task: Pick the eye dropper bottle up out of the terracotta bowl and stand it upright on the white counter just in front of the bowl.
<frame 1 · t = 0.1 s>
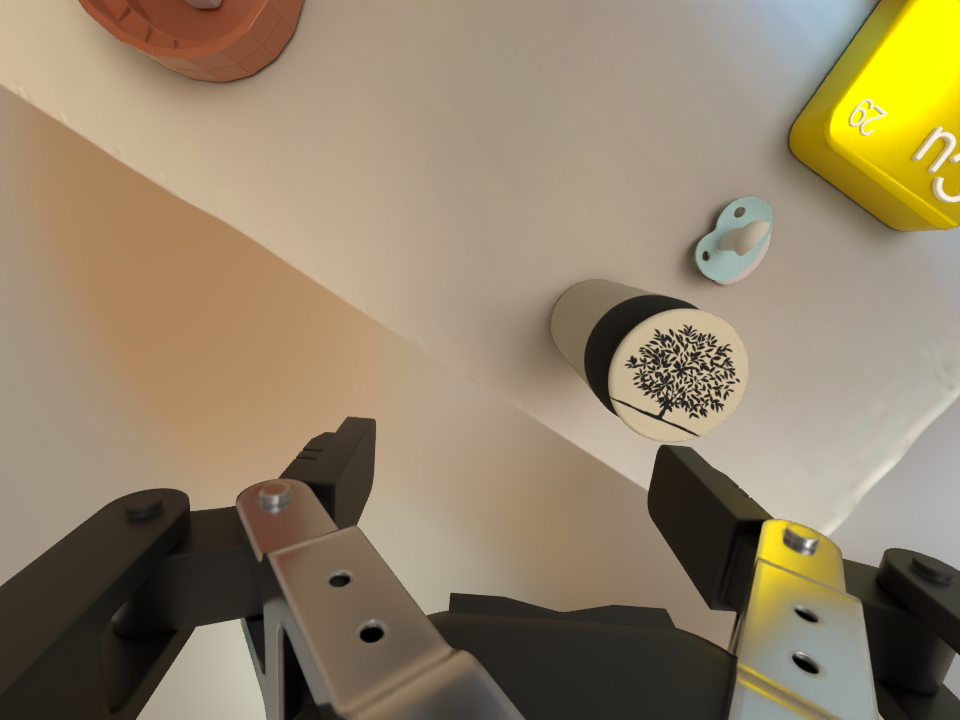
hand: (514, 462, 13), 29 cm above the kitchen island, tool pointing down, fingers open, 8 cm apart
element tile: (901, 113, 37), on the kitchen island
pacifier: (728, 246, 40), on the kitchen island
travel mug: (592, 322, 41), on the kitchen island
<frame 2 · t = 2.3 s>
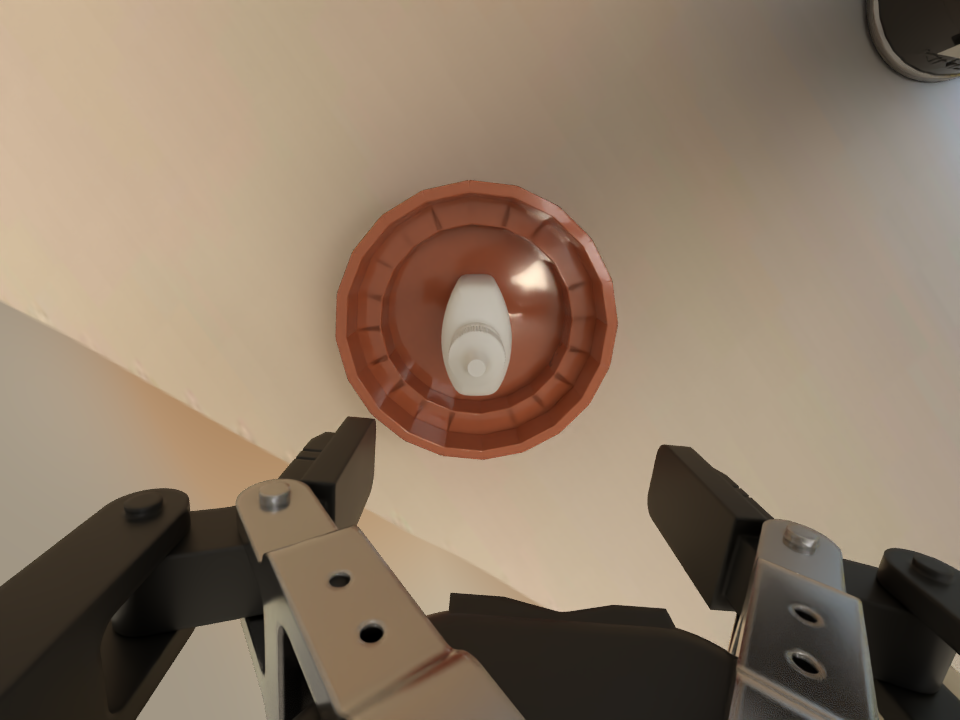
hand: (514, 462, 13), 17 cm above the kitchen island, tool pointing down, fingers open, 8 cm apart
bowl: (476, 316, 29), on the kitchen island
travel mug: (858, 650, 36), on the kitchen island
eye dropper bottle: (476, 317, 29), resting on bowl
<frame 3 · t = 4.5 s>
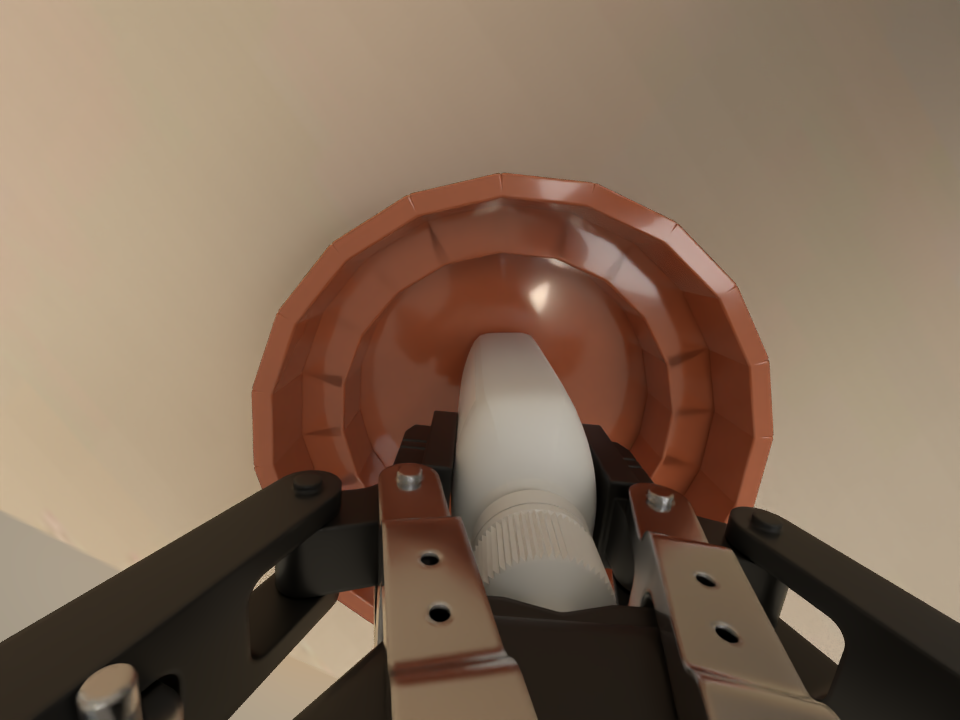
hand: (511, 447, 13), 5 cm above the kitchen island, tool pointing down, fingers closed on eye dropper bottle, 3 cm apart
bowl: (502, 396, 18), on the kitchen island
eye dropper bottle: (503, 398, 18), resting on bowl, touching gripper
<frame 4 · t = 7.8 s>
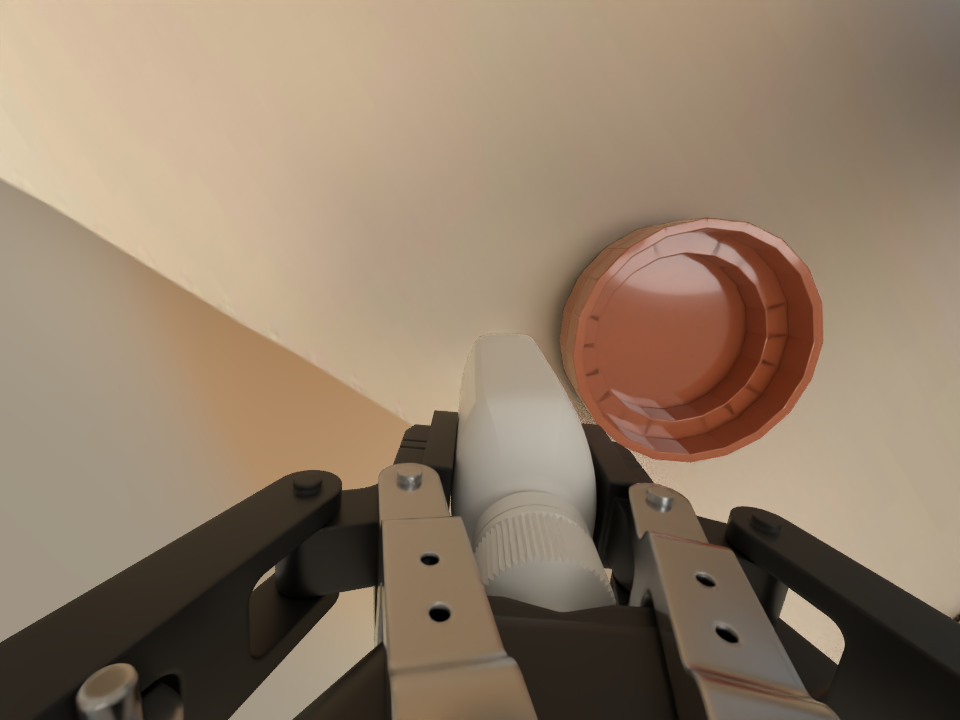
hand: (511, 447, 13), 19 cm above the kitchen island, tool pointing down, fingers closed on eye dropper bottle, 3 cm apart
bowl: (664, 333, 32), on the kitchen island
eye dropper bottle: (503, 399, 18), point 15 cm above the kitchen island, touching gripper
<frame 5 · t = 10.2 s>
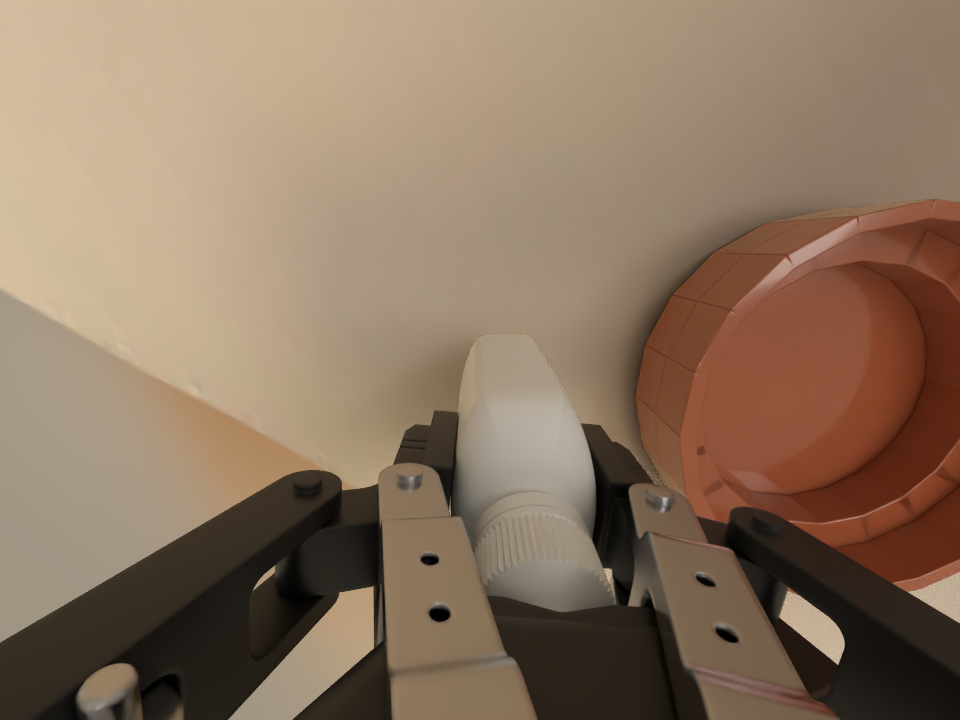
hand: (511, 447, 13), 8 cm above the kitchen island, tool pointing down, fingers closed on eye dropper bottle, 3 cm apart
bowl: (795, 382, 21), on the kitchen island
eye dropper bottle: (503, 399, 18), point 3 cm above the kitchen island, touching gripper
when the fingers open (4 cm above the kitchen island, at t = 11.4 s): eye dropper bottle stays where it is, on the kitchen island.
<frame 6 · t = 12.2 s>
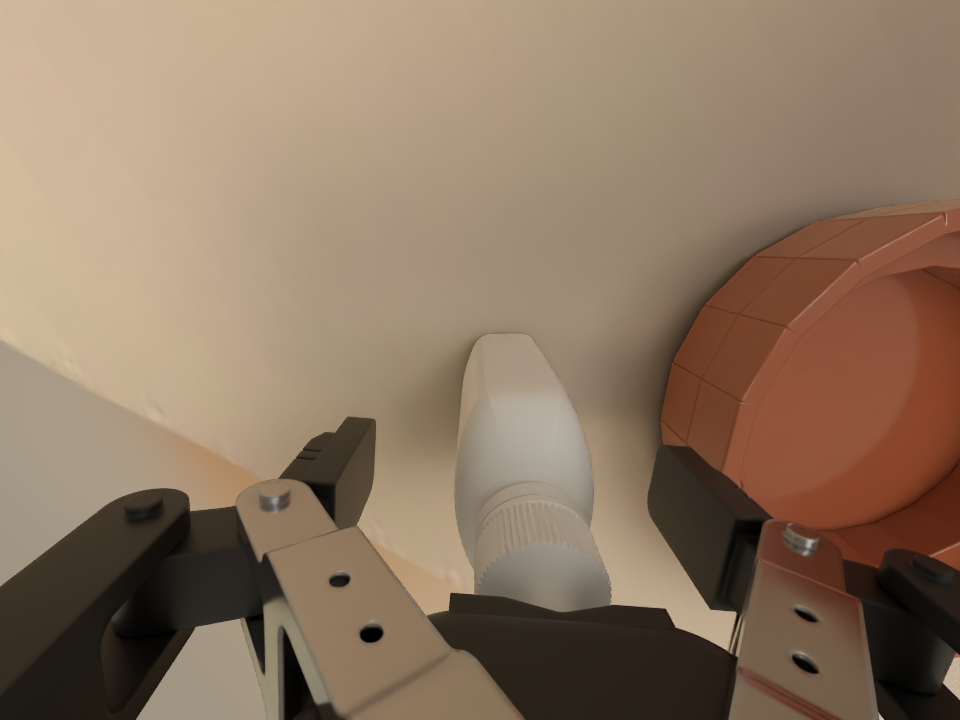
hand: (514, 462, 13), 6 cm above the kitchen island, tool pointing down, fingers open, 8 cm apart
bowl: (842, 404, 18), on the kitchen island
eye dropper bottle: (504, 397, 18), on the kitchen island
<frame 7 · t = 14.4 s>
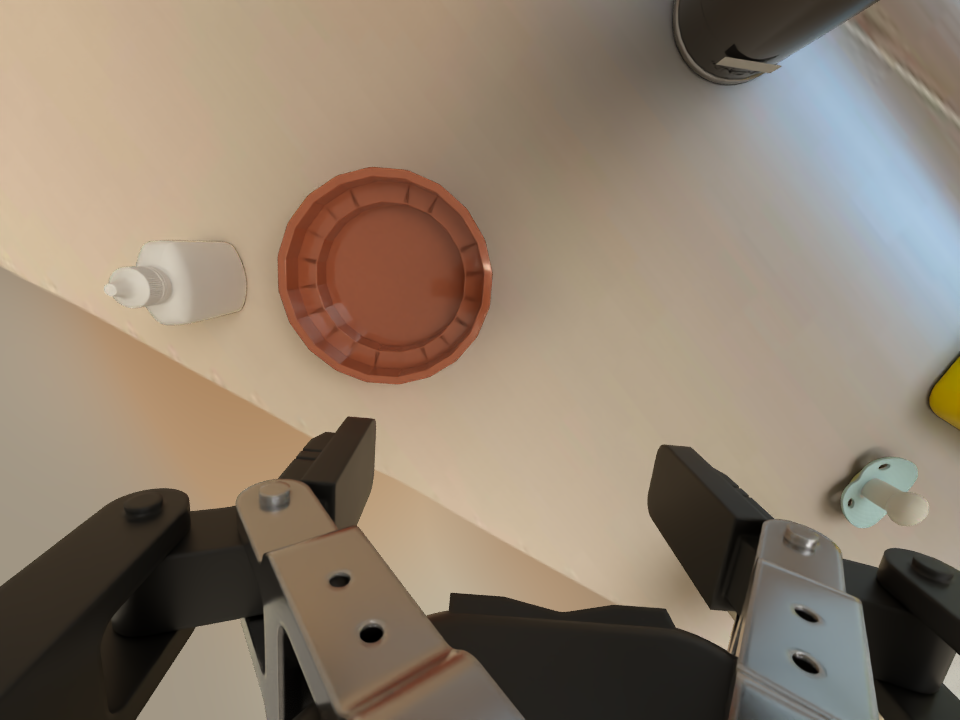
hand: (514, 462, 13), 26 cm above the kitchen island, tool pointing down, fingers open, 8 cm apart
bowl: (396, 277, 37), on the kitchen island
pacifier: (866, 485, 42), on the kitchen island
eye dropper bottle: (227, 277, 37), on the kitchen island
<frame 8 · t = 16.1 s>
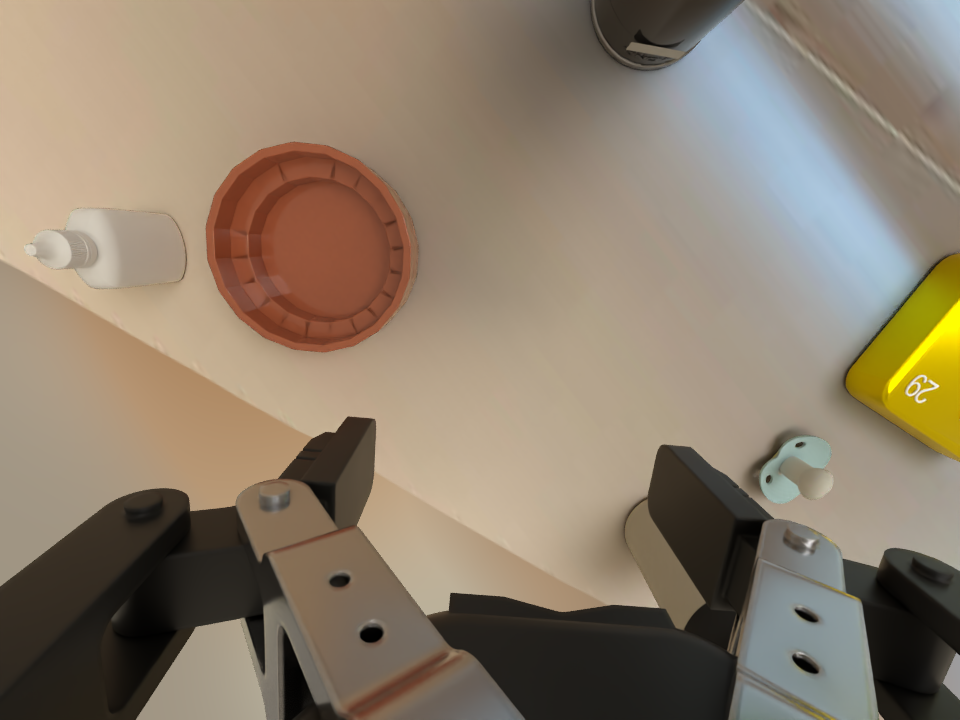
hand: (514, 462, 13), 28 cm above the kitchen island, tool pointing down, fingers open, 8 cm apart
element tile: (946, 357, 41), on the kitchen island
bowl: (330, 252, 38), on the kitchen island
pacifier: (786, 463, 44), on the kitchen island
travel mug: (661, 525, 46), on the kitchen island
eye dropper bottle: (167, 248, 38), on the kitchen island
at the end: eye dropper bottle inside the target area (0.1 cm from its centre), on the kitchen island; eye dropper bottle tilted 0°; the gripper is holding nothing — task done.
